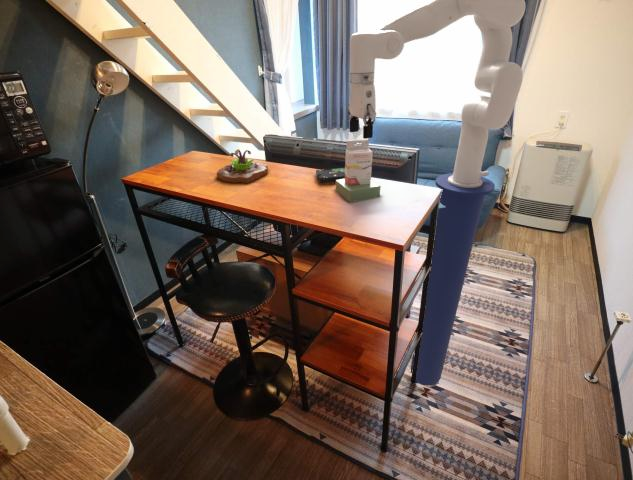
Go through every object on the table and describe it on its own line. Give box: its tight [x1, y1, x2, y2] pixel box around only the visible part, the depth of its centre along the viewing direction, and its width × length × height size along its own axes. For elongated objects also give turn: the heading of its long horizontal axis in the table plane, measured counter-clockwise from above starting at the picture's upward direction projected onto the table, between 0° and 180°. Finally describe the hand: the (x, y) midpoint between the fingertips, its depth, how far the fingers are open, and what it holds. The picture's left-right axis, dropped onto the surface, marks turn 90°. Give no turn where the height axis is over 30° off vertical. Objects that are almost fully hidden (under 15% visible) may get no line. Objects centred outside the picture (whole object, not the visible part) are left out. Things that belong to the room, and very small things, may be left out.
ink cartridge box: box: [344, 139, 374, 186], centre depth 120 cm, size 9×5×15 cm, turn 100°
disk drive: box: [315, 167, 345, 185], centre depth 139 cm, size 10×3×15 cm
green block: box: [335, 179, 382, 203], centre depth 125 cm, size 12×12×4 cm
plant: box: [216, 149, 269, 184], centre depth 143 cm, size 20×20×11 cm
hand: (360, 134), depth 115 cm, fingers open, 9 cm apart
